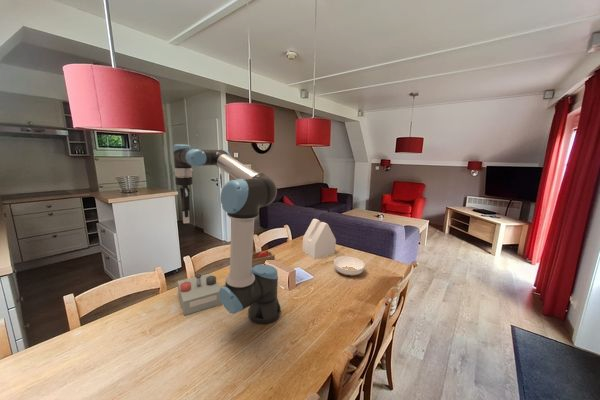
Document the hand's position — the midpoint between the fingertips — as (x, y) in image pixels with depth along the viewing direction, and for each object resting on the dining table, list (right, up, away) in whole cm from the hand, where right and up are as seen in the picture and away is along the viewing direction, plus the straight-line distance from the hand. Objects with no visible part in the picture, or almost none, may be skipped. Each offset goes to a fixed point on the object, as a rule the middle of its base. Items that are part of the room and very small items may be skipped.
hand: (186, 222), depth 123 cm
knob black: (+12, -37, +3) cm, 39 cm away
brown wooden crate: (+31, -31, +42) cm, 60 cm away
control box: (+7, -39, 0) cm, 39 cm away
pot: (+7, -32, -2) cm, 32 cm away
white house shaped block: (+72, -29, +61) cm, 99 cm away
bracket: (+30, -31, +41) cm, 60 cm away
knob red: (+2, -38, -4) cm, 39 cm away
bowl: (+89, -35, +33) cm, 102 cm away
